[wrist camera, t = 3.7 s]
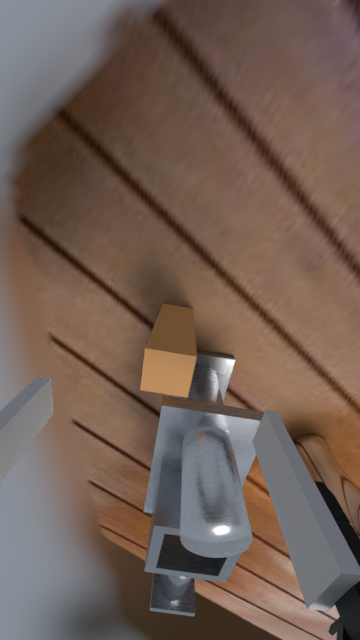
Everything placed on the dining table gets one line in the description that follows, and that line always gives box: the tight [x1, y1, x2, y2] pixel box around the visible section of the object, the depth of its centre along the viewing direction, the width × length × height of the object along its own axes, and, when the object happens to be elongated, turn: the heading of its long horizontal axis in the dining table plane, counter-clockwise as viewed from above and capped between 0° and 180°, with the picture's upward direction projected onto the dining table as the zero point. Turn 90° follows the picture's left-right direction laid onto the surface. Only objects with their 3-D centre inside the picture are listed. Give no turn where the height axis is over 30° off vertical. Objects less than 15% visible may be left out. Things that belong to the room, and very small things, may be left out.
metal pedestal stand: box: [144, 350, 264, 558], centre depth 24 cm, size 16×10×18 cm, turn 171°
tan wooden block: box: [140, 303, 197, 398], centre depth 22 cm, size 4×4×12 cm
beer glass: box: [293, 435, 360, 539], centre depth 28 cm, size 7×7×15 cm
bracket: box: [145, 466, 241, 616], centre depth 22 cm, size 17×8×5 cm, turn 171°
